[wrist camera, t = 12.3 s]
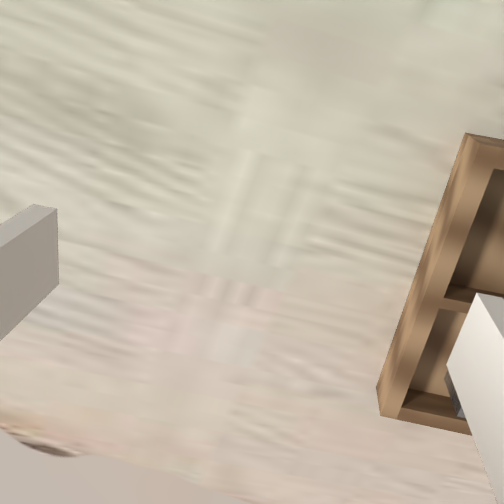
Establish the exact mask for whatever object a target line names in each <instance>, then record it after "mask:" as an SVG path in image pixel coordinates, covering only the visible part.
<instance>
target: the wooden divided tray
mask: <svg viewBox="0 0 504 504" xmlns="http://www.w3.org/2000/svg"><path fill="white" fill-rule="evenodd" d="M476 293H481V294H486V295H491V296H496V297H501V298H503V299H504V140H501V139H496V138H490V137H485V136H480V135H474V134H469V133H465V135H464V138H463V140H462V143H461V146H460V149H459V152H458V155H457V158H456V160H455V163H454V166H453V169H452V172H451V175H450V178H449V180H448V183H447V186H446V189H445V192H444V195H443V198H442V200H441V203H440V206H439V209H438V212H437V215H436V218H435V220H434V223H433V226H432V229H431V232H430V235H429V238H428V240H427V243H426V246H425V249H424V252H423V255H422V258H421V261H420V263H419V266H418V269H417V272H416V275H415V278H414V281H413V283H412V286H411V289H410V292H409V295H408V298H407V301H406V303H405V306H404V309H403V312H402V315H401V318H400V321H399V323H398V326H397V329H396V332H395V335H394V338H393V341H392V343H391V346H390V349H389V352H388V355H387V358H386V361H385V364H384V366H383V369H382V372H381V375H380V378H379V381H378V384H377V386H376V390H377V396H378V403H379V410H380V416H383V417H388V418H393V419H397V420H402V421H407V422H411V423H416V424H421V425H425V426H430V427H434V428H439V429H444V430H448V431H453V432H458V433H462V434H467V435H472V433H471V431H470V428H469V425H468V422H467V420H466V418H462V417H458V416H457V415H456V412H455V409H454V406H453V404H452V401H451V398H450V395H449V392H448V389H447V386H446V383H445V380H444V377H445V375H446V372H447V370H448V368H447V365H446V364H447V362H448V359H449V357H450V355H451V352H452V350H453V347H454V345H455V343H456V340H457V338H458V336H459V333H460V331H461V328H462V326H463V324H464V321H465V319H466V317H467V314H468V312H469V309H470V307H471V305H472V302H473V300H474V298H475V295H476Z"/></svg>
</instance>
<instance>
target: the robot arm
mask: <svg viewBox="0 0 504 504" xmlns="http://www.w3.org/2000/svg"><path fill="white" fill-rule="evenodd" d="M58 285H59V266H58V224H57V209H56V208H51V207H46V206H41V205H36V204H33V205H32V206H30V207H28V208H27V209H25V210H23V211H22V212H20V213H19V214H17V215H15V216H14V217H12V218H10V219H9V220H7V221H5V222H4V223H2V224H1V225H0V341H1V340H2V339H3V338H4V337H5V336H6V335H7V334H8V333H9V332H10V331H11V330H12V329H13V328H14V327H15V326H16V325H17V324H18V323H19V322H21V321H22V320H23V319H24V318H25V317H26V316H27V315H28V314H29V313H30V312H31V311H32V310H33V309H34V308H35V307H36V306H37V305H38V304H39V303H40V302H41V301H42V300H43V299H44V298H45V297H46V296H47V295H48V294H49V293H50V292H51V291H52V290H53V289H54V288H55V287H56V286H58ZM446 365H447V368H448V371H449V374H450V376H451V379H452V382H453V384H454V387H455V390H456V393H457V395H458V398H459V401H460V403H461V406H462V409H463V412H464V414H465V417H466V420H467V422H468V425H469V428H470V431H471V433H472V436H473V439H474V441H475V444H476V447H477V450H478V452H479V455H480V458H481V460H482V463H483V466H484V469H485V471H486V474H487V477H488V479H489V482H490V485H491V488H492V490H493V493H494V496H495V498H496V501H497V504H504V299H503V298H501V297H496V296H491V295H486V294H481V293H476V295H475V298H474V300H473V302H472V305H471V307H470V309H469V312H468V314H467V317H466V319H465V321H464V324H463V326H462V328H461V331H460V333H459V336H458V338H457V340H456V343H455V345H454V347H453V350H452V352H451V355H450V357H449V359H448V362H447V364H446Z"/></svg>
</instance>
